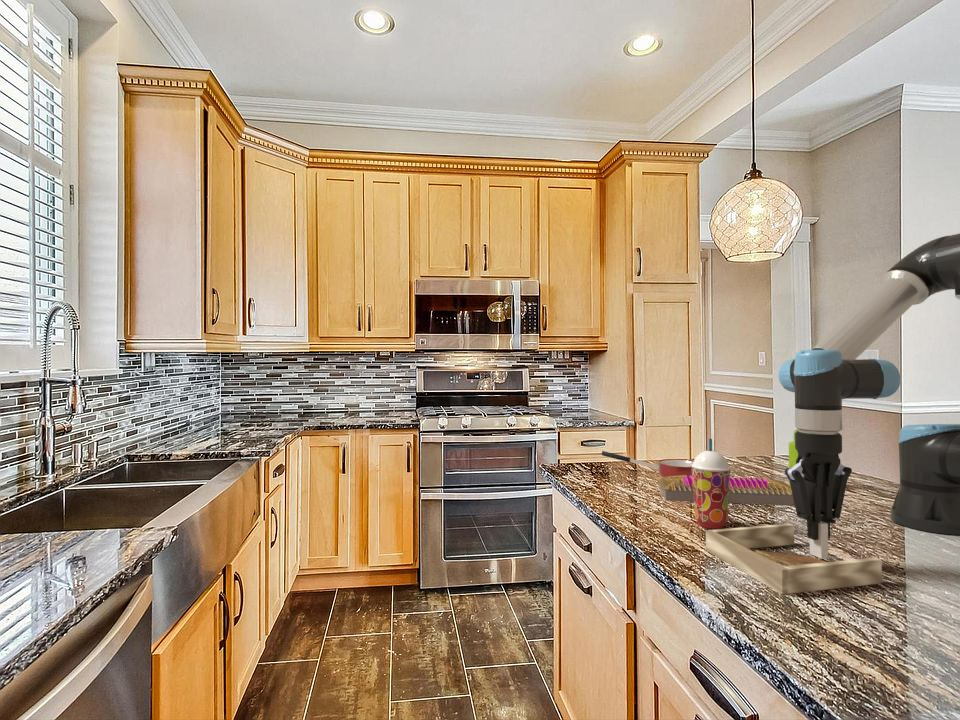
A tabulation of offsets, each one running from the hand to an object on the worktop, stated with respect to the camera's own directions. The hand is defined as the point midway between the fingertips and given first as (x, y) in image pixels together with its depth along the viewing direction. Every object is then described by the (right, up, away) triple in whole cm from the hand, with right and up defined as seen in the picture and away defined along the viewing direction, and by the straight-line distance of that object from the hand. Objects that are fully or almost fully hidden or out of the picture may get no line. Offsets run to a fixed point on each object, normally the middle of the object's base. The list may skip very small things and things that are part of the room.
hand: (818, 555), depth 100 cm
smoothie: (-11, -1, +22) cm, 25 cm away
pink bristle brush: (+4, -2, +47) cm, 47 cm away
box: (-7, -1, -1) cm, 7 cm away
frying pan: (-7, -1, +76) cm, 77 cm away
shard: (-6, -2, -1) cm, 6 cm away
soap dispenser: (+31, -1, +56) cm, 64 cm away
